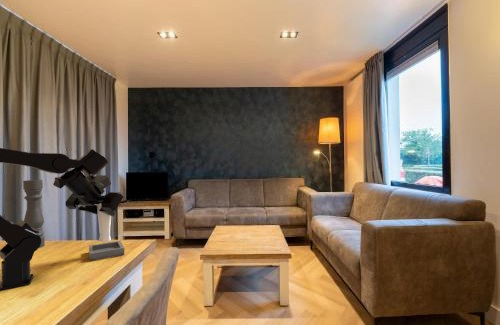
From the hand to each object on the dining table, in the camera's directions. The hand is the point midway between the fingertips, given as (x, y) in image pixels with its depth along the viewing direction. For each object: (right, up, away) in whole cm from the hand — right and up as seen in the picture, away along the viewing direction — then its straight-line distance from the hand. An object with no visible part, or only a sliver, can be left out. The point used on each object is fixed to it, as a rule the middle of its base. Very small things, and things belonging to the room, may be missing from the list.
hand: (108, 215), depth 94 cm
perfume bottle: (-1, -9, -1) cm, 9 cm away
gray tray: (0, -13, -1) cm, 13 cm away
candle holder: (-32, -14, +7) cm, 35 cm away
